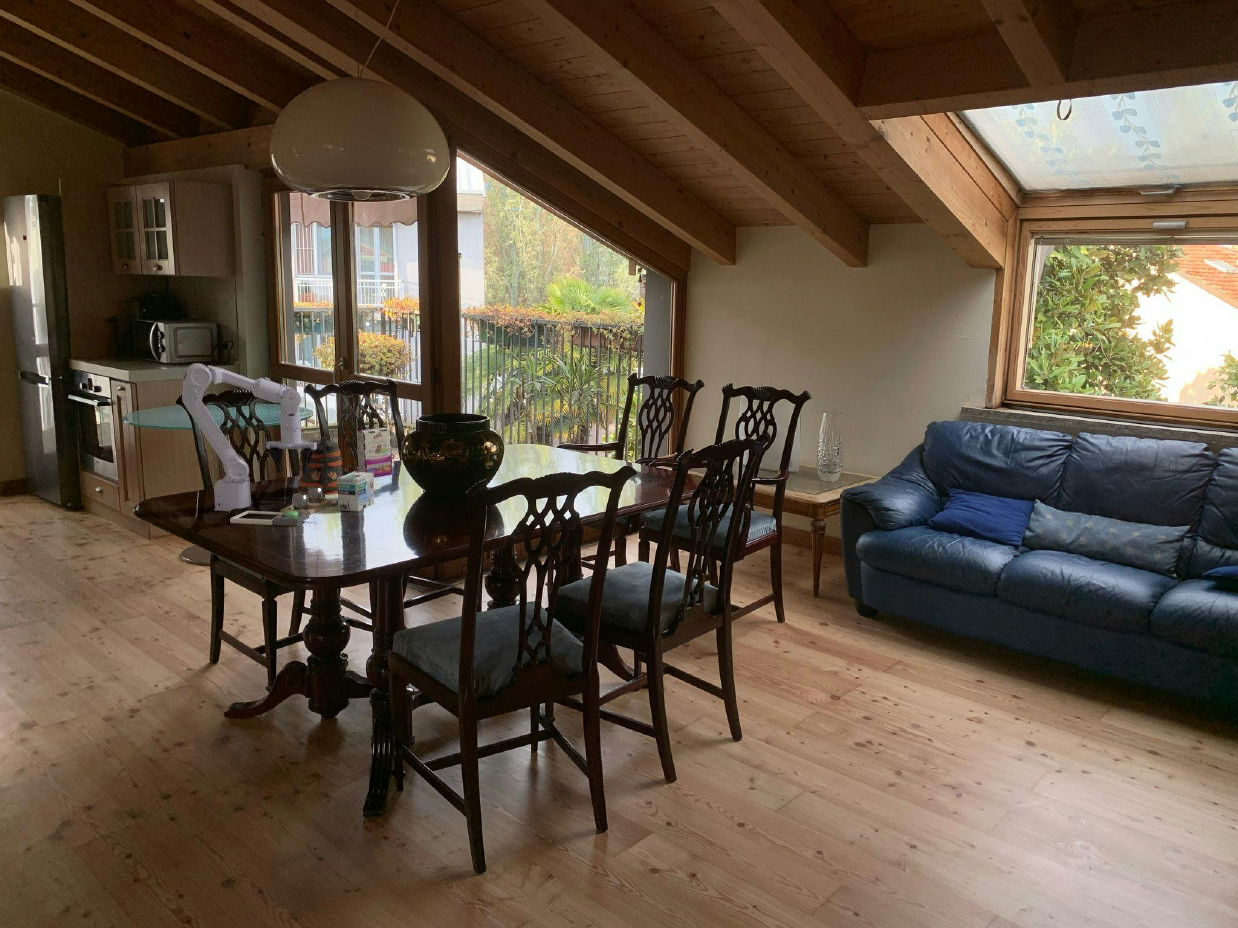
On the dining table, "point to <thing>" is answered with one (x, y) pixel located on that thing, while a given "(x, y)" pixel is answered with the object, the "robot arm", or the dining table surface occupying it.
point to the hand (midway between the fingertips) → (292, 472)
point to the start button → (291, 514)
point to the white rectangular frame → (253, 521)
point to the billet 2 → (315, 494)
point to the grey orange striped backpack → (322, 468)
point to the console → (290, 519)
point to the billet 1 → (300, 501)
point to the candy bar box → (375, 451)
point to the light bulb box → (355, 491)
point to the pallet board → (312, 506)
